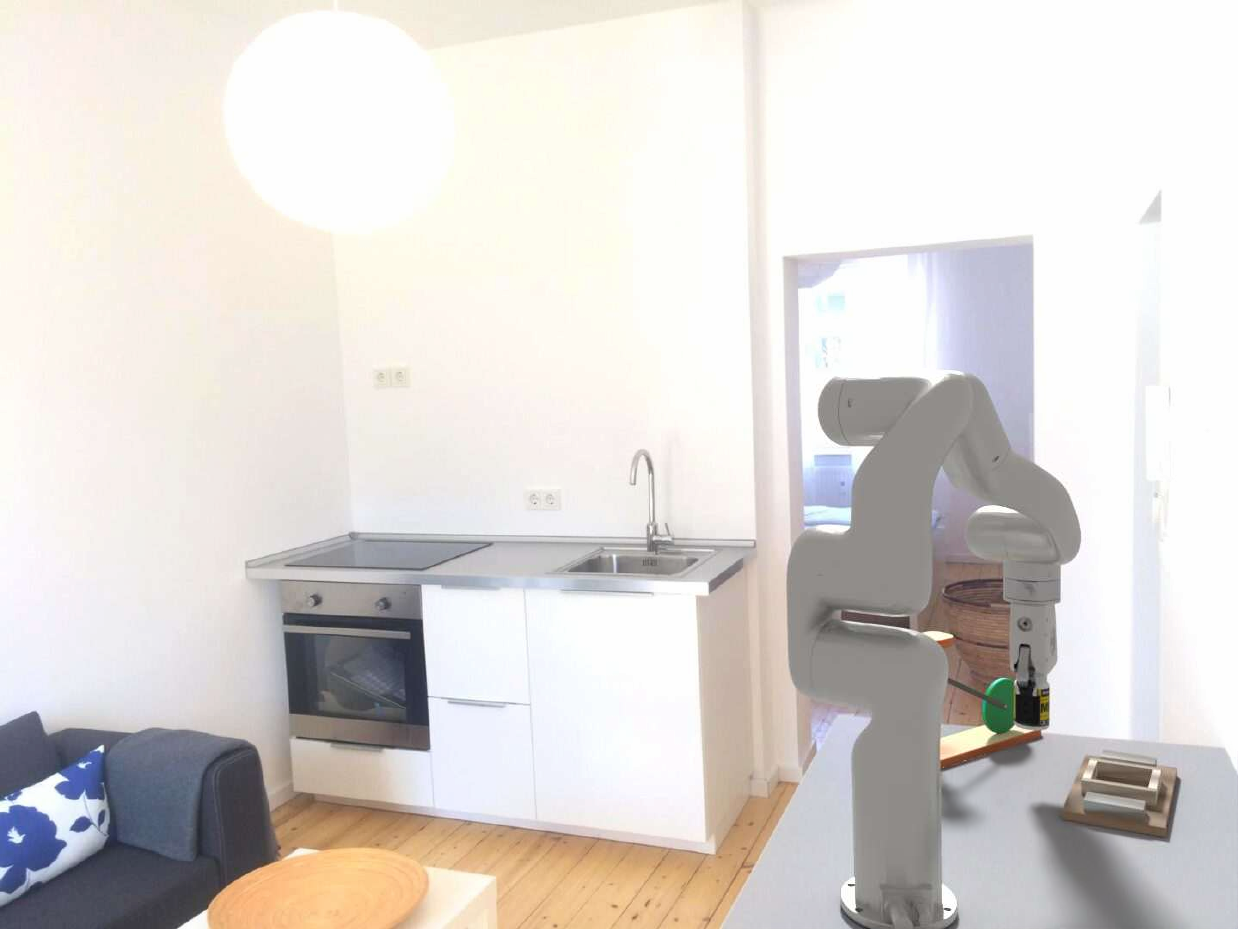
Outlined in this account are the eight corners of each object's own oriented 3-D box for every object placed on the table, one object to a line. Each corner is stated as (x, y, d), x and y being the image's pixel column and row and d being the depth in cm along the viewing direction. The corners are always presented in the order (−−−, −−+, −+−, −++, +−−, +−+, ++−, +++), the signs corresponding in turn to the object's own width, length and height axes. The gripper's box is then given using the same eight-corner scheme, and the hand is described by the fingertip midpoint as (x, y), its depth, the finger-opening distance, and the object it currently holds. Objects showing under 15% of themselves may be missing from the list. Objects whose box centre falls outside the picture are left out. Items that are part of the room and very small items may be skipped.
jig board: (1164, 837, 129) (1164, 812, 129) (1061, 819, 136) (1061, 795, 135) (1177, 776, 148) (1177, 754, 148) (1085, 762, 154) (1085, 741, 154)
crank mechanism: (935, 771, 154) (933, 644, 152) (902, 758, 159) (900, 635, 158) (1045, 735, 166) (1044, 617, 164) (1011, 724, 172) (1010, 610, 170)
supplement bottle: (1046, 733, 143) (1046, 673, 143) (1010, 728, 146) (1010, 669, 145) (1052, 723, 147) (1052, 665, 147) (1017, 718, 150) (1017, 661, 149)
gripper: (1049, 603, 136) (1049, 738, 137) (1069, 581, 151) (1069, 704, 152) (990, 598, 140) (990, 730, 141) (1015, 578, 154) (1015, 698, 156)
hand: (1031, 715), depth 146 cm, fingers closed on supplement bottle, 4 cm apart
